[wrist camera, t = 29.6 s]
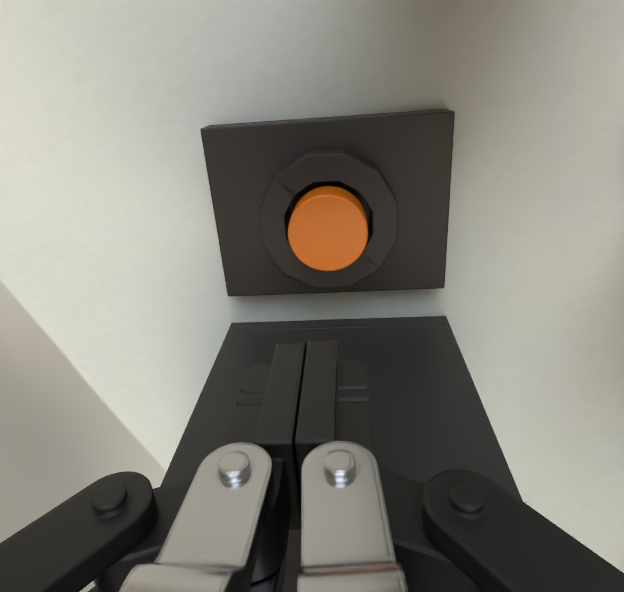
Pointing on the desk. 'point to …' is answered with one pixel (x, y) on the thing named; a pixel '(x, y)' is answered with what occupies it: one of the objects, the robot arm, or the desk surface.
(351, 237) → the button
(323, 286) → the control pad
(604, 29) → the desk surface
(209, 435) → the coffee maker
